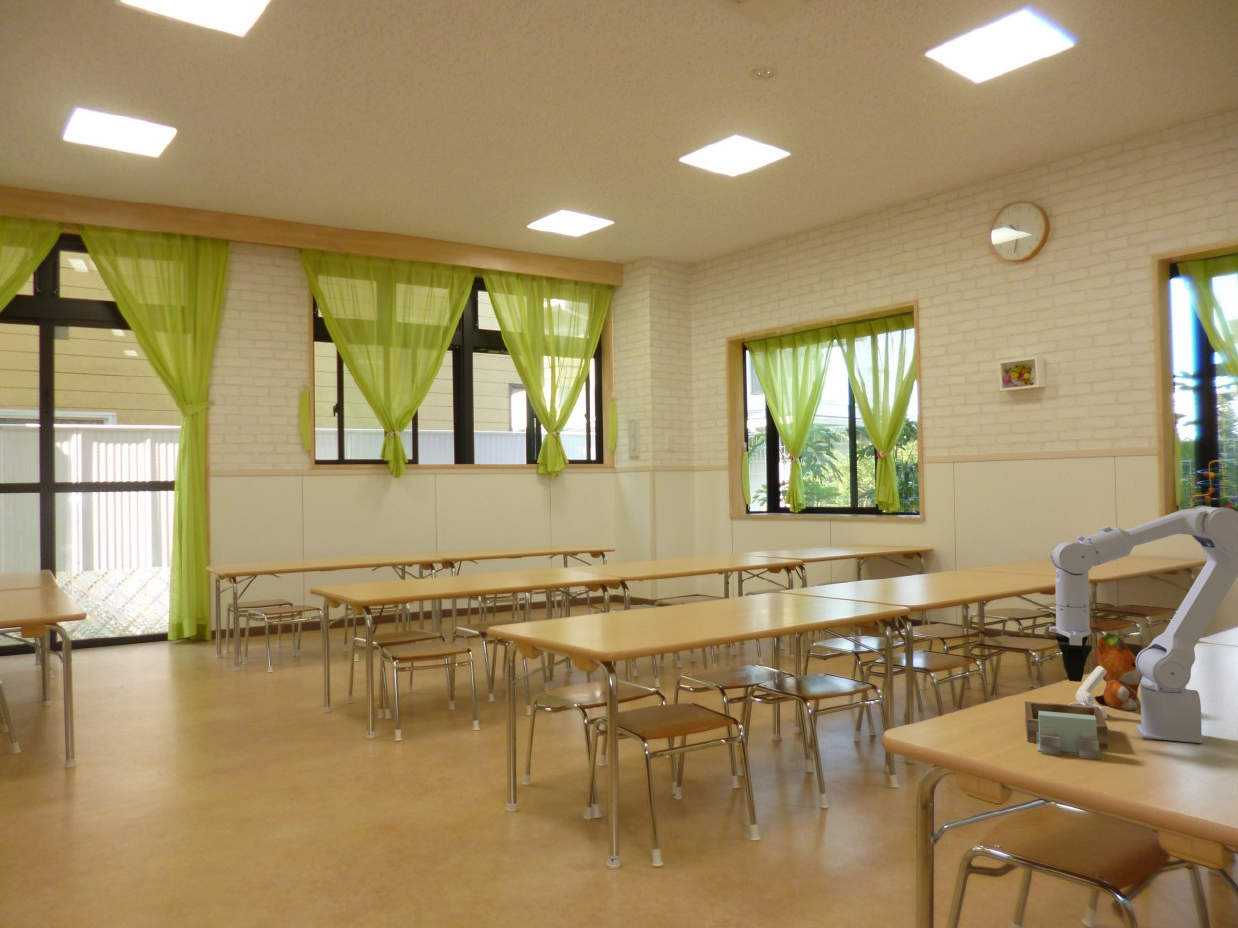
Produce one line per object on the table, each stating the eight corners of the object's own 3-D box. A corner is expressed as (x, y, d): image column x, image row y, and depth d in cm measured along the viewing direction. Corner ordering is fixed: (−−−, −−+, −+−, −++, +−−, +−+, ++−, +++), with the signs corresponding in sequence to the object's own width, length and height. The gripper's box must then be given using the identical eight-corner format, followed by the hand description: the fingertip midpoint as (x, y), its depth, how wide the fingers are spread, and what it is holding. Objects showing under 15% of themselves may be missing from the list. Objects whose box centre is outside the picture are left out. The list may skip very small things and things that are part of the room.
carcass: (1099, 727, 170) (1099, 707, 170) (1112, 760, 151) (1111, 737, 151) (1025, 721, 175) (1024, 701, 175) (1028, 752, 156) (1028, 729, 157)
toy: (1132, 714, 180) (1130, 640, 180) (1085, 705, 186) (1084, 634, 186) (1151, 704, 187) (1150, 633, 187) (1106, 696, 194) (1105, 627, 194)
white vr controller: (1139, 693, 176) (1114, 675, 175) (1101, 739, 177) (1076, 722, 176) (1115, 676, 183) (1091, 659, 182) (1078, 721, 185) (1054, 704, 183)
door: (1095, 749, 157) (1094, 715, 157) (1097, 754, 154) (1096, 720, 154) (1039, 743, 160) (1038, 710, 160) (1039, 749, 157) (1039, 715, 157)
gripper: (1047, 598, 177) (1048, 666, 177) (1051, 609, 164) (1052, 683, 163) (1086, 600, 174) (1087, 669, 174) (1094, 611, 161) (1095, 686, 161)
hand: (1073, 676), depth 169 cm, fingers open, 7 cm apart
